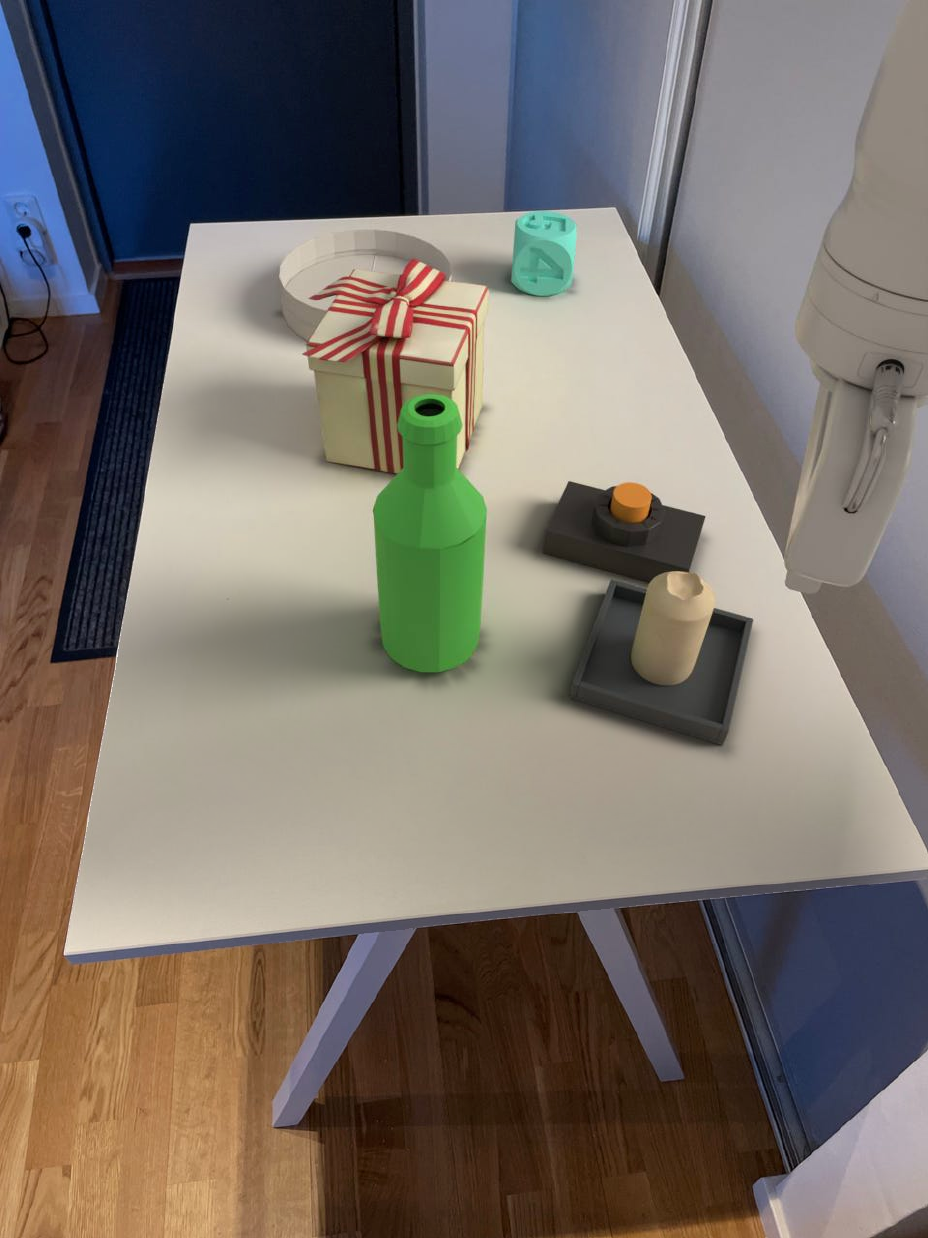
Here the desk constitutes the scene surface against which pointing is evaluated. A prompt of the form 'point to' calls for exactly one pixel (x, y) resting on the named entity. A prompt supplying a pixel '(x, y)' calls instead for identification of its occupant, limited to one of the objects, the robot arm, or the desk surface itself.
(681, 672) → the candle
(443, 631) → the bottle
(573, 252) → the decorative dice
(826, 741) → the desk surface
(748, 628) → the soap tray
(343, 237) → the dish
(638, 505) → the orange button cap
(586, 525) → the button base
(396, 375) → the gift box
